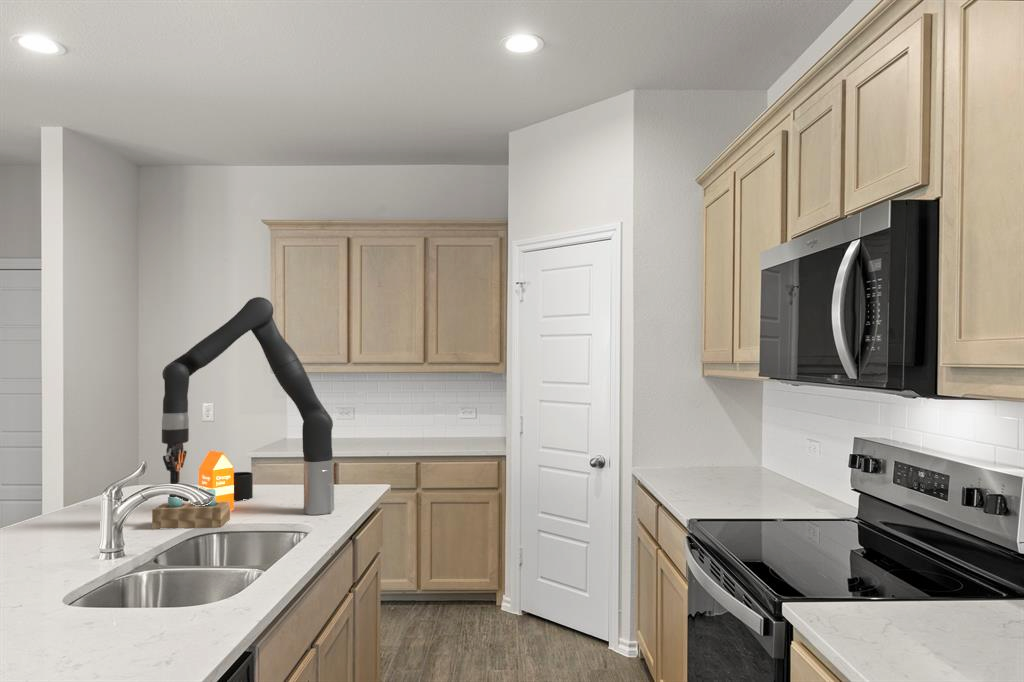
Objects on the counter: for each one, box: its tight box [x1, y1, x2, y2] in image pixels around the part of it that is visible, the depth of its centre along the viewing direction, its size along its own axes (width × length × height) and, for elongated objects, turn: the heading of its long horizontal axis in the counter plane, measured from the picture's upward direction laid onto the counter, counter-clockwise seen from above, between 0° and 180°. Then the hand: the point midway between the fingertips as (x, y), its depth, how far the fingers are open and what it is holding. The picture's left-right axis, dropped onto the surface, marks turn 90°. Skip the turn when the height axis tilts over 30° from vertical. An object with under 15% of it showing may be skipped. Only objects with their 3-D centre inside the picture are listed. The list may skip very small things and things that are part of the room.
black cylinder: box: [234, 471, 254, 500], centre depth 258 cm, size 9×12×9 cm
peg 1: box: [167, 496, 183, 508], centre depth 217 cm, size 4×4×6 cm
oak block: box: [151, 501, 231, 530], centre depth 217 cm, size 20×9×6 cm, turn 95°
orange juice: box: [198, 450, 235, 510], centre depth 237 cm, size 8×9×20 cm
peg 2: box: [202, 489, 216, 507], centre depth 218 cm, size 4×4×6 cm
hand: (174, 483), depth 217 cm, fingers closed
